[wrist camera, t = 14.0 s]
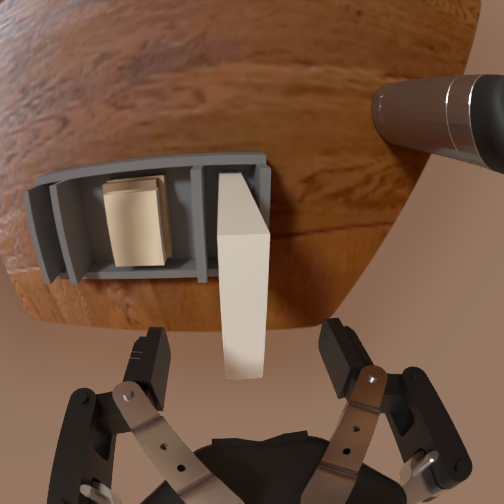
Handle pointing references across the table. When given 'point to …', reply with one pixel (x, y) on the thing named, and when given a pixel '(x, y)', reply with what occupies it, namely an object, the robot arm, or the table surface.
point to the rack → (95, 221)
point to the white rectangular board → (242, 277)
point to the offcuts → (138, 219)
